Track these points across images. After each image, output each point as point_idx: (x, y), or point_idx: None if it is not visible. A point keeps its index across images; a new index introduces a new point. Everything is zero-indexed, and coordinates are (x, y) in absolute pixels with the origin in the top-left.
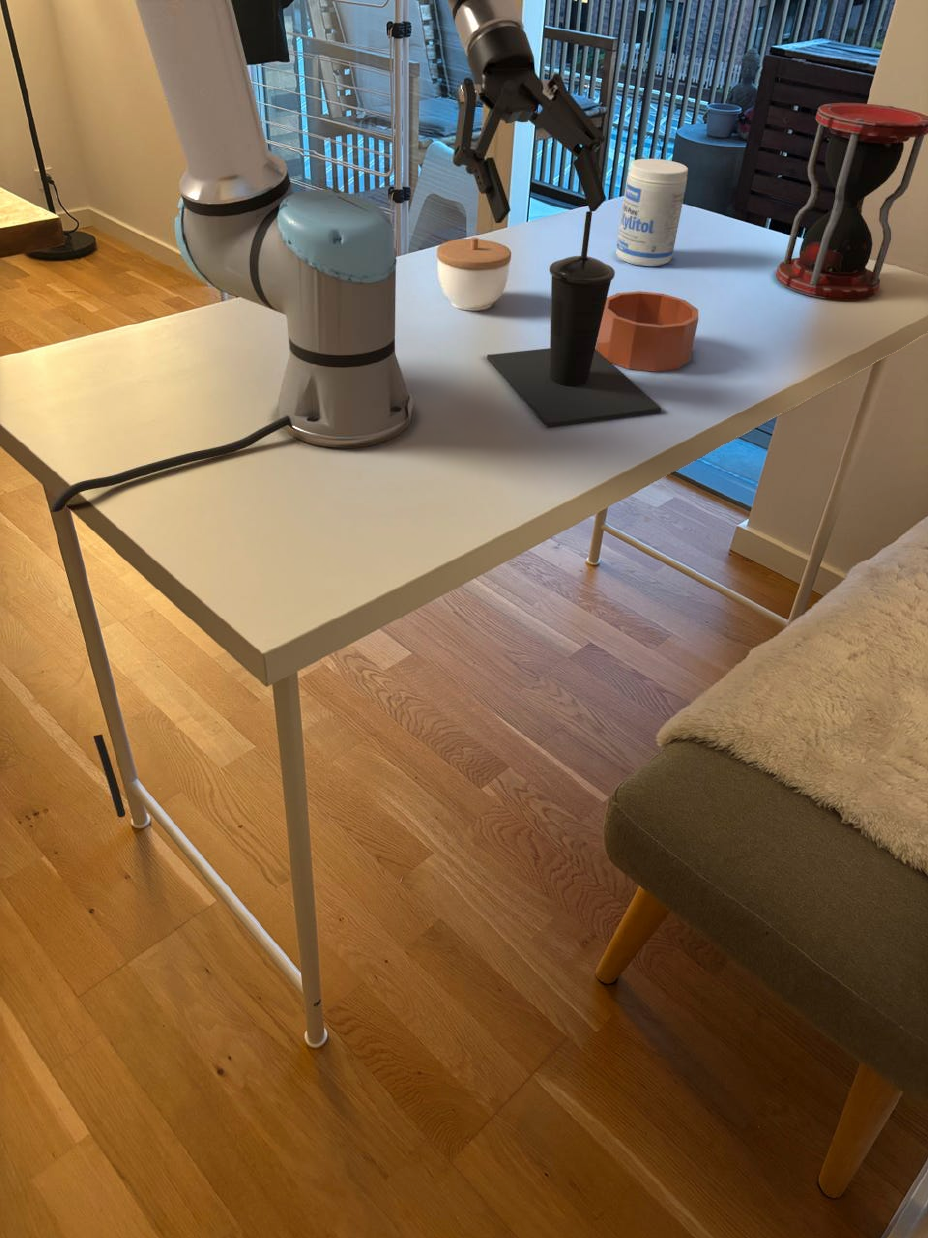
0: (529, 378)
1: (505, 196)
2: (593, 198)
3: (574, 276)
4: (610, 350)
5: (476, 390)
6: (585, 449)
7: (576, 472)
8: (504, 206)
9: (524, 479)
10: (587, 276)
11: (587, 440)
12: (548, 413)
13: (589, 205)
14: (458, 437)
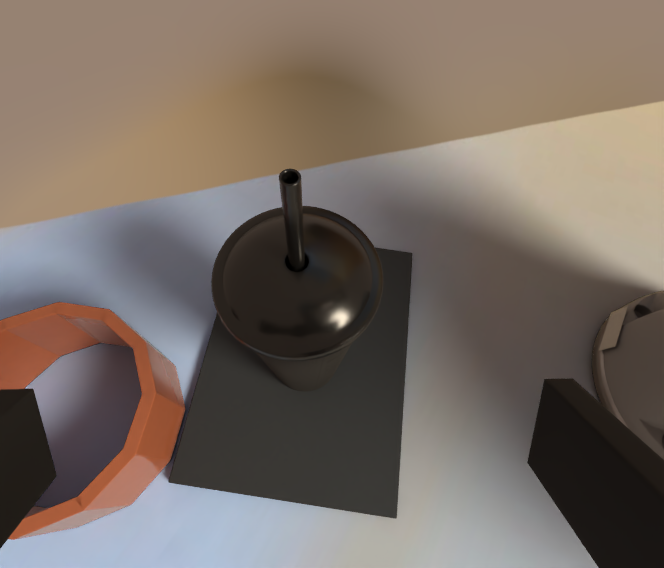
0: (369, 384)
1: (589, 420)
2: (21, 458)
3: (353, 233)
4: (178, 401)
5: (464, 396)
6: (392, 199)
7: (427, 168)
8: (581, 387)
9: (489, 177)
10: (326, 218)
11: (378, 214)
12: (398, 274)
13: (39, 487)
14: (536, 279)
